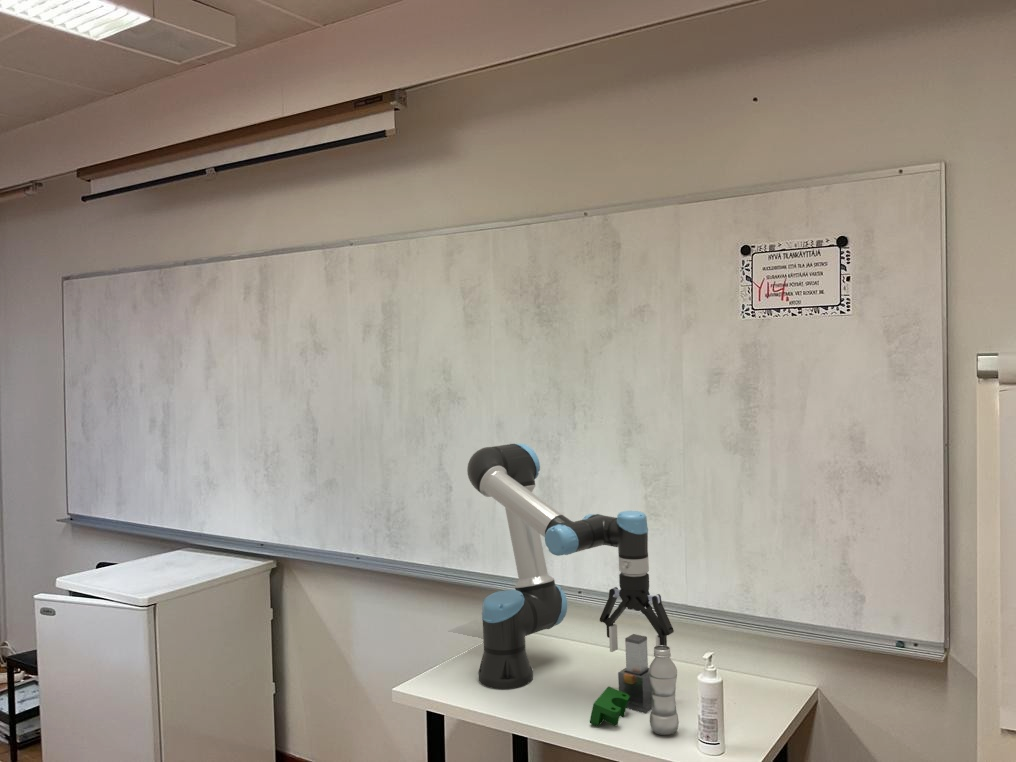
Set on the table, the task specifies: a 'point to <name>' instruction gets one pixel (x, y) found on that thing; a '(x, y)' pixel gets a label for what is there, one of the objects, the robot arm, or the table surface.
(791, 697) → the table surface
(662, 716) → the plastic bottle
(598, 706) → the clamp
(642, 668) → the column
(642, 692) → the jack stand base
